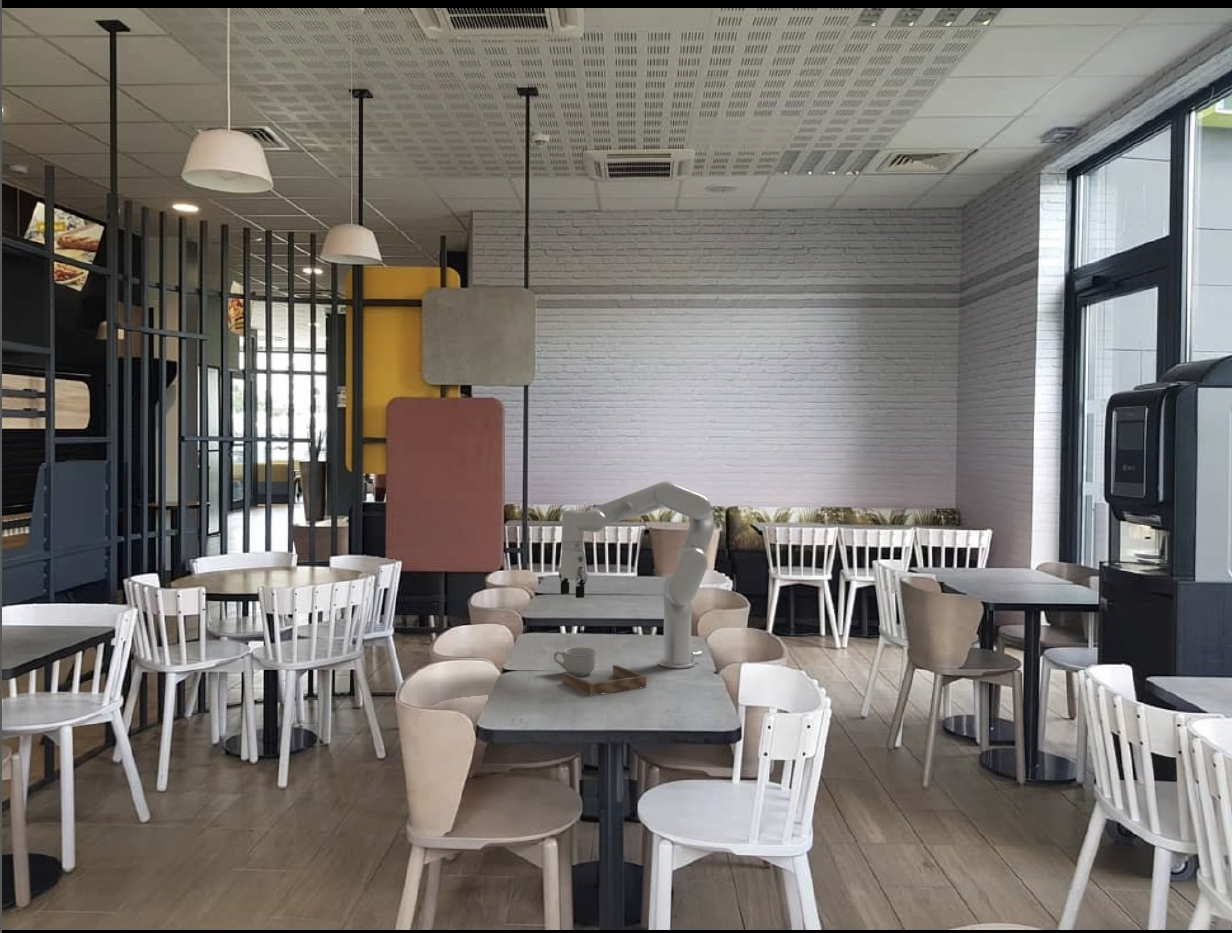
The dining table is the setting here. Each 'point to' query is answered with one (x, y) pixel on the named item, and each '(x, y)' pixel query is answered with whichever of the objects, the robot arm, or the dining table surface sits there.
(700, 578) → the robot arm
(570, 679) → the corral
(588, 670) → the teacup
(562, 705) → the dining table surface
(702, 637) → the dining table surface
